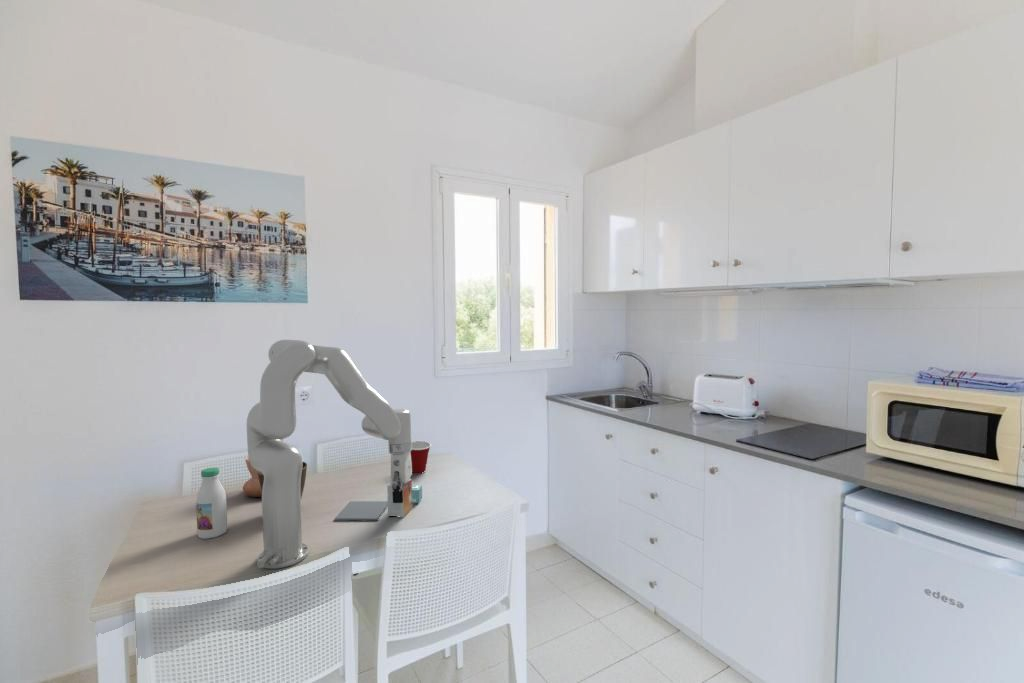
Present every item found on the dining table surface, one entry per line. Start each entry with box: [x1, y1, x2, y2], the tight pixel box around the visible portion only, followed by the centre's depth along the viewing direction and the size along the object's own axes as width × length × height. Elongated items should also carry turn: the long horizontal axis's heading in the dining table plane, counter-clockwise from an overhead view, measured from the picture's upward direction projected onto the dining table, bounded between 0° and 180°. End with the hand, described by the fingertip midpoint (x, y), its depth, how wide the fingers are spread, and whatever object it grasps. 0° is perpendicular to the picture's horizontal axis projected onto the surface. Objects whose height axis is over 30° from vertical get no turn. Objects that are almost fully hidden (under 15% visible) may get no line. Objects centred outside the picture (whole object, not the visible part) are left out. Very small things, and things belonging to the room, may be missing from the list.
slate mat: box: [334, 500, 388, 522], centre depth 159 cm, size 14×14×1 cm
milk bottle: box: [195, 467, 228, 540], centre depth 143 cm, size 8×8×20 cm
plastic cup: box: [410, 440, 432, 474], centre depth 200 cm, size 11×11×12 cm
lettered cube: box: [412, 484, 423, 504], centre depth 168 cm, size 5×5×5 cm
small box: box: [386, 478, 413, 518], centre depth 158 cm, size 8×6×10 cm
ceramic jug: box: [242, 456, 262, 498], centre depth 177 cm, size 18×14×14 cm
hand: (401, 496), depth 158 cm, fingers open, 9 cm apart
